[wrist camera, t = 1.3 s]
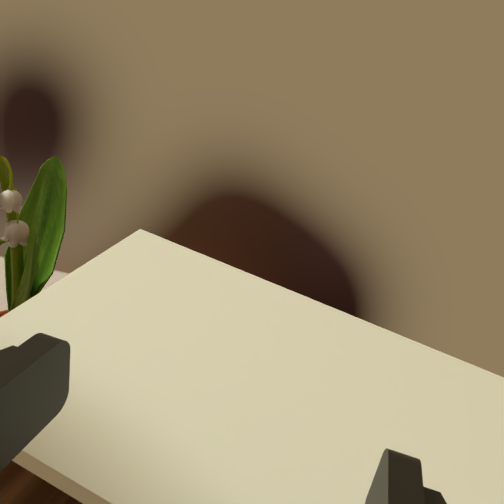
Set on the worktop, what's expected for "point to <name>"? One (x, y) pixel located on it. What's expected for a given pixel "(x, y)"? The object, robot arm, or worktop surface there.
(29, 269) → the potted flower
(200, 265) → the wooden cabinet
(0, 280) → the worktop surface
